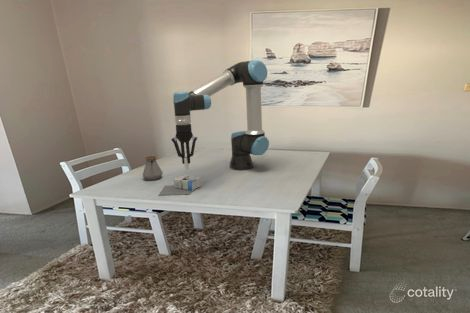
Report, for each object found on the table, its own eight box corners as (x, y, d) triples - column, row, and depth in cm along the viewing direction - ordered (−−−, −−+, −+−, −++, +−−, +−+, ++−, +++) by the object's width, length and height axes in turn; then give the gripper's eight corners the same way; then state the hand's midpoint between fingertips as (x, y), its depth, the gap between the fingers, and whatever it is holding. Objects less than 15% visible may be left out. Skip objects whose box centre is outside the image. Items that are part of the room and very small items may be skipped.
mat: (194, 185, 163) (194, 184, 163) (190, 194, 150) (190, 193, 150) (165, 186, 164) (164, 185, 164) (158, 195, 150) (158, 195, 150)
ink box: (191, 181, 153) (173, 179, 158) (192, 190, 154) (174, 188, 159) (201, 176, 160) (183, 174, 165) (201, 185, 161) (183, 183, 167)
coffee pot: (142, 177, 182) (139, 152, 178) (162, 174, 185) (159, 150, 182) (143, 188, 162) (140, 161, 158) (165, 185, 165) (162, 158, 162)
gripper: (168, 125, 145) (172, 172, 151) (195, 124, 145) (198, 171, 150) (171, 123, 152) (175, 168, 158) (197, 122, 152) (200, 167, 158)
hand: (187, 169), depth 154 cm, fingers closed
